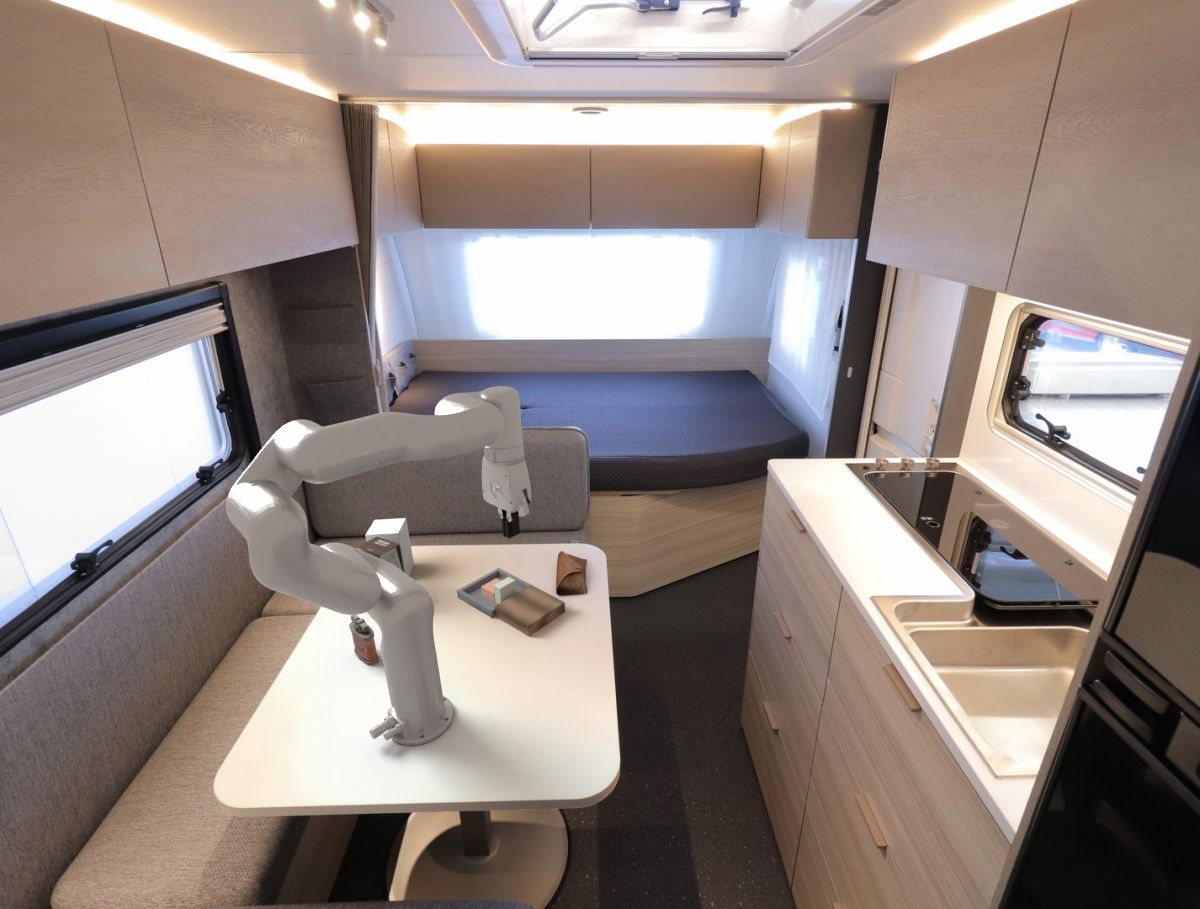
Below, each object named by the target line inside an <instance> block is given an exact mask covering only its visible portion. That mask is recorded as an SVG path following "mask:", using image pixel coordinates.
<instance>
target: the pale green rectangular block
mask: <svg viewBox="0 0 1200 909" xmlns="http://www.w3.org/2000/svg"><path fill="white" fill-rule="evenodd" d="M493 587H494V596H495V602H496V603H498V604H499V603H501V602H503V601H504V600H506V599H508V598H509V597H511V596H513V595H514V594H516V585H515V580H514V579H512V578H510V577H507V578H506V579H504V580H502V581H500V582H498V583H497V584H495V585H493Z"/></svg>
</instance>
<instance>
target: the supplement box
mask: <svg viewBox="0 0 1200 909" xmlns="http://www.w3.org/2000/svg"><path fill="white" fill-rule="evenodd" d="M364 537H365V539H366V540H365V542H367V541H369V540H371V539H373V538H375V537H380V538H383V539H386V540H389V541H391V542H394V543H397V544H400V549H401V555H402V561H403V567H404V573H405V574H407V575H408V576H410V575H411V573H412V571H413V568H414V565H415V561H414V556H413V549H412V545H411V538H410V533H409V526H408V521H407V518H406V517H403V518H385V519H374V520H373V522H372V524H371V525H370V527H369V528H368V530H367V532H366V533H365V536H364Z"/></svg>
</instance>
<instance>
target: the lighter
mask: <svg viewBox="0 0 1200 909" xmlns="http://www.w3.org/2000/svg"><path fill="white" fill-rule="evenodd" d="M350 619H351V620H350V621H351V622H350V623H349V624H348V625H349V626H348V627H349V630H350V633H351V637H352V641H353V645H354V649H353V650H354V654H355V655H356V657H357V659H358V660H359V661H360V662H362V663H363V664H365V665H367V666H369V667H371V666H375V665H377V664H378V663H379V662H380V658H379V657H380V656H379V655H378V652H377V647H376V642H375V641H376V640H375V632H374V630H373V629H372V627H371V626H370V625H368V623H367V622H366V620H365V619H364V618H363V617H362V618H361V617H359V616H358V615H350Z"/></svg>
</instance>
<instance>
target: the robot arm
mask: <svg viewBox="0 0 1200 909" xmlns="http://www.w3.org/2000/svg"><path fill="white" fill-rule="evenodd" d="M520 401H521V400H520V394H519V392H518V390H517V389H516V388H514V387H512V386H506V385H499V386H491V387H488V388H485V389H483V390H479V391H471V392H470V391H469V392H457V393H451V394H449V395H446V396H444V397H443V398H441V399H440V400H439V402H438V403H437V404H436V406H435V410H434V415H432V414H429V415H427V414H416V413H415V414H414V413H409V412H408V413H407V412H400V411H399V412H397V411H383V412H378V413H374V414H371V415H366V416H362V417H359V418H356V419H355V418H354V419H350V420H346V421H343V422H337V423H334V424H330V425H325V426H322V425H320V424H318V423H316V422H314V421H312V420H310V419H309V420H308V419H302V418H301V419H295V420H291V421H290V422H287V423H286V424H284V425H282V426H281V427H280V428H279V429H278V430H277V431H275V433H274V434H273V435H272V436H271V437H270V438H269V440H267V442H266V443H265V445H264V446H262V448H261V449H260V451H259V452H258V453H257V455H256V456H255V457H254V459H253V460H252V461H251V462H250V464H248V466H247V467H246V469H245V470H244V471H243V472H242V473H241V475H240V476H239V477H238V479H237V480H236V481H235V483H234V484H233V485H232V487H231V488H230V490H229V492H228V495H227V498H226V500H225V512H226V515H227V518H228V519H229V521H230V522H231V524H232V525H233V527H235V528H236V529H237V531H239V533H240V534H241V535H242V537H243V538H244V539H245V540H246V543H247V548H248V550H247V551H248V560H249V566H250V569H251V572H252V574H253V575H254V577H255V579H256V580H257V582H259V583H260V584H261V585H262V586H264V587H266V588H267V589H269V590H272V591H273V592H277V593H281V594H283V595H287V596H290V597H293V598H294V599H298V600H300V601H302V602H306V603H309V604H311V605H315V606H318V607H321V608H324V609H328V610H329V611H332V612H334V613H338V614H341V615H346V616H347V615H349V616H351V615H357V616H358V615H363V614H365V613H366V614H368V616H369V617H370V618H371V619H372V620H373V621H374V622H375V623H376V624H377V625H378V627H379V630H380V632H381V640H380V641H381V642H380V654H381V659H382V660H381V661H382V665H383V669H384V674H385V679H386V684H387V690H388V695H389V699H390V700H389V701H390V704H391V705H390V706H391V707H390V708H388V709H387V716H386V717H384V719H383V720H384V721H382V722H381V723H379V724H376V725H375V726H374V727H372V728H371V729H369V734H370V737H371V738H372V739H373V740H376V739H378V738H379V737H380V736H383V738H384V740H385V741H386V742H388V741H389V740H390V739H392V740H393V741H394V742H396V743H398V744H401V745H405V746H417V745H418V746H419V745H422V744H426V743H428V742H432V741H433V740H435V739H437V738H438V737H440V736H441V735H442V734H444V733H445V732H446V731H447V730H448V728H450V726H451V725H452V723H453V719H454V716H455V715H454V714H455V713H454V712H455V710H454V707H453V703H452V701H451V700H450V699H449V698H448V697H447V696H445V695H444V694H443V687H442V681H441V676H440V675H441V674H440V668H439V661H438V656H437V649H436V643H435V638H434V615H435V614H434V613H435V608H434V602H433V599H432V597H431V595H430V593H429V592H428V591H427V590H426V589H425V587H423V586H422V585H421V584H420V583H419V582H418V581H416V580H415V579H414V578H412V577H411V576H410V575H409V576H408V575H407V574H405V573H404V572H403V571H401V570H400V569H399V568H398V567H396V566H395V565H393V564H391V563H389V562H387V561H385V560H383V559H380V558H378V557H375V556H373V555H371V554H368V553H366V552H363V551H361V550H359V549H357V547H356V548H355V547H354V546H351V545H349V544H346V543H341V542H328V543H324V544H321V545H317V544H314V543H310V540H309V534H308V530H309V529H308V519H307V515H306V513H305V510H304V508H303V507H302V506H301V505H300V503H299V502H297V500H295V499H294V497H292V496H293V495H294V493H295V492H296V491H297V489H298V488H299V487H300V485H301V484H302V483H303V481H304V482H305V483H306V482H307V483H310V484H314V485H320V484H321V485H322V484H323V485H324V484H330V483H332V482H333V483H334V482H336V481H339V480H342V479H346V478H348V477H353V476H356V475H359V474H361V473H365V472H368V471H372V470H375V469H378V468H382V467H386V466H388V465H389V466H390V465H392V464H395V463H400V462H418V461H427V460H437V459H447V458H453V457H460V456H462V455H466V454H469V453H472V452H476V451H479V450H481V449H483V452H484V454H483V456H482V464H481V486H482V487H481V488H482V489H481V490H482V497H483V500H484V501H485V502H487V504H490V505H492V506H494V507H496V509H497V513H498V517H499V518H500V519H501V527H502V528H501V529H502V537H505V538H507V539H513V538H514V537H515V536H518V535H519V534H520V533H521V527H520V518H521V517H526V516H528V515H529V514H530V510H529V506H530V505H532V490H531V480H530V475H529V470H528V466H527V465H528V464H527V462H526V458H525V452H524V440H523V439H524V438H523V427H522V415H521V404H520V403H521V402H520ZM386 731H387V732H386Z"/></svg>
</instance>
